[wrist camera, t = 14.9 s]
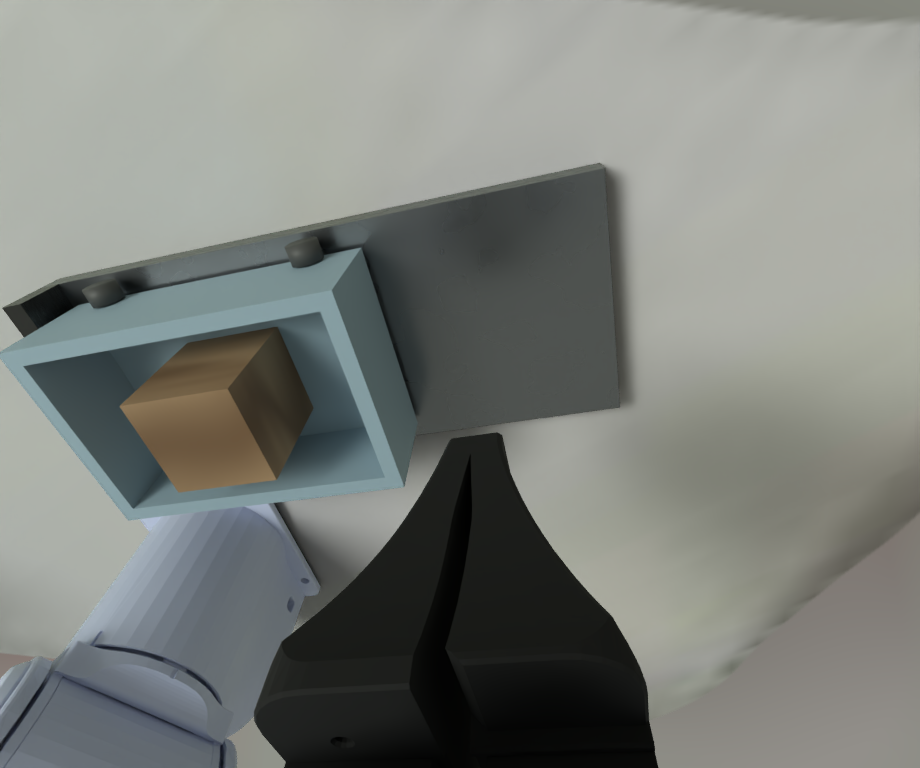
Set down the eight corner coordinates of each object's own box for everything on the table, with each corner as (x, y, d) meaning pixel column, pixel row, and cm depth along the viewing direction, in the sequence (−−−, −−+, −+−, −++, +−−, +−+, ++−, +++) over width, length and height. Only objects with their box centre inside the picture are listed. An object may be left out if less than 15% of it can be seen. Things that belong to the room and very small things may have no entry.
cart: (421, 435, 24) (409, 500, 20) (186, 468, 26) (137, 532, 22) (354, 227, 19) (322, 266, 15) (67, 287, 21) (-19, 334, 17)
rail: (615, 394, 23) (629, 435, 21) (176, 456, 27) (143, 498, 24) (599, 163, 18) (616, 180, 16) (59, 278, 22) (2, 308, 19)
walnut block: (313, 408, 22) (276, 480, 19) (230, 420, 23) (178, 492, 19) (277, 326, 20) (227, 388, 16) (187, 342, 21) (119, 406, 17)
